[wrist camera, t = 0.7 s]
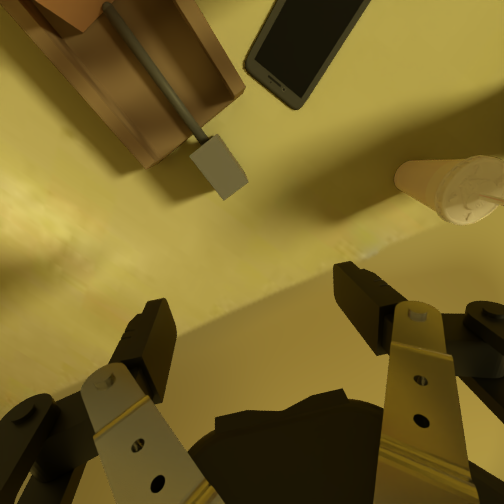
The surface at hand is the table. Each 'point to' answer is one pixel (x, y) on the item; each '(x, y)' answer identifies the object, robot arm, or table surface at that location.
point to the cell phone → (301, 45)
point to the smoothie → (455, 186)
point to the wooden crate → (139, 68)
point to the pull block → (211, 151)
